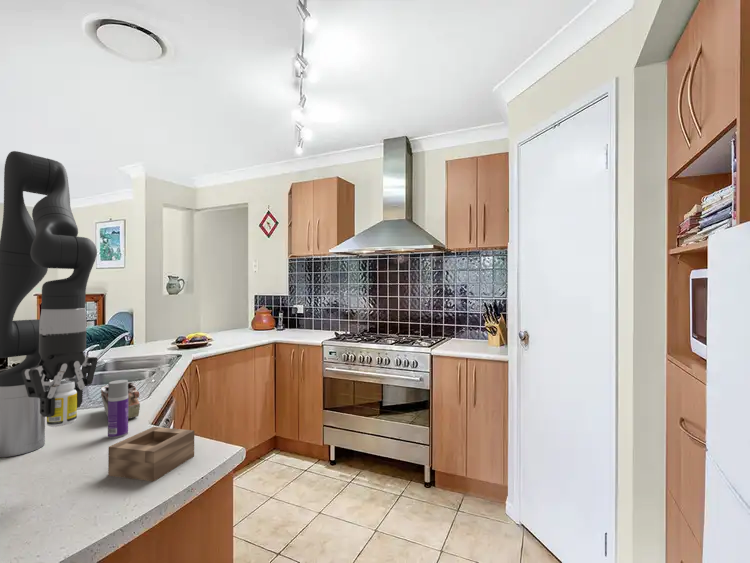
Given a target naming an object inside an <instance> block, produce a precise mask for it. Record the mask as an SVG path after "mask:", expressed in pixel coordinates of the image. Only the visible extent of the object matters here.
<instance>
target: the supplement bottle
mask: <svg viewBox="0 0 750 563" xmlns="http://www.w3.org/2000/svg"><path fill="white" fill-rule="evenodd" d="M74 388H75V381H72V380H67V381H66V380H61V383H60V385H59V386H58V387H57V388H56V391H55V394H54V396H53V398H55V414H54V416H51V417H46V425H47V427H50V428H51V427H52V428H54V427H55V428H57V427H63V426H66V425H70V424H73V423H74V422H76V421H77V419H78V418H77V417H78V416H77V415H78V408H77V391H76V390H75V389H74Z"/></svg>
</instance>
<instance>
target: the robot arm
mask: <svg viewBox="0 0 750 563" xmlns="http://www.w3.org/2000/svg"><path fill="white" fill-rule="evenodd" d="M4 162H5V163H4V168H3V169H4V171H3V216H2V223H1V224H2V225H1V232H0V359H4V358H6V359H7V358H15V357H23V356H25V357H24V358H25V359H24V360H22V361H21V362H20V363H18V364H16V365H15V366H13V367H11V368H8V369H6V370H3V371H1V372H0V458H6V457H14V456H19V455H23V454H27V453H28V454H29V453H31V452H33V451H36V450H39V449H41V448H43V447H44V446H45V444H46V443H45V442H46V418H47V417H51V416H54V414H55V398H53V396H54V394H55V391H56V388H57V387H58V386H59V385H60V383H61V381H67V380H72V381H75V388H74V389H75V390H76V391H77V409H78V408H80V407H82V403H83V400H84V399H83V397H84V396H83V395H84V393H83V391H84V389H85V387H87V386H88V385H92V383H93V380H94V377H95V373H96V368H97V365H98V360H99V358H98V357H95V356H85V354H84V351H85V350H86V349H87V323H88V322H87V313H86V293H87V286H88V282H89V277H90V274H91V271H92V269H93V268H94V264H95V262H96V259H97V255H98V250H97V246H96V243H94V242H93V241H92V239H90V238H88V237H83V236H78V234H79V229H78V225H77V223H76V220H75V218H74V215H73V213H72V207H71V196H70V187H69V177H68V172H67V169H66V168H65V166H64V165H63V163H61V162H59V161H57V160H55V159H51V158H48V157H47V158H46V157H42V156H39V155H34V154H32V153H31V154H30V153H25V152H23V151H22V152H21V151H18V150H17V151H16V150H12V151H10V152H9V153H8V154H7V156H6V159H5V161H4ZM24 192H27V193H30V194H37V195H42V196H44V197H43V198H41V199H40V200H38V201H37V202H36V203H35V205H34V206H33V208H32V212H31V214H30V212H29V210H28V208H27V206H26V204H25V199H24ZM49 269H58V270H59V269H60V270H61V269H62V270H66V269H67V270H73V271H72V273H71V275H69V276H68V277H65V278H61V279H53V280H48V281H45V282H44V283H43V284H42V286H41V306H40V308H41V309H40V310H41V311H40V316H39V319H38V318H37V319H22V320H21V319H19V320H14V318H15V315H16V312H17V310H18V307H19V306H20V304H21V303H22V301H23V300H24V299H25V297H27V295H29V293H30V292H31V291H32V290H34V288H35V287H36V286H38V284H40V282H41V281H42V280H43V279H44V278H45V277H46V275H47V274H48V270H49Z"/></svg>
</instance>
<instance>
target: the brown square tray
mask: <svg viewBox="0 0 750 563" xmlns="http://www.w3.org/2000/svg"><path fill="white" fill-rule="evenodd" d="M107 450H108V452H107V453H108V458H107V460H108V461H107V465H108V468H107V472H108V474H107V475H108V476H109V477H117V478H123V479H124V478H125V479H132V480H138V481H139V480H140V481H147V482H155V481H157V480H158V479H161V478H162V477H163V476H165V475H166V474H168V473H170V472H171V471H173V470H175V469H176V468H178V467H179V466H181V465H183V464H184V463H186V462H188V461H189V460H190V459H192V458H194V457H195V430H193V429H192V430H191V429H183V428H180V429H179V428H173V427H172V428H171V427H161V426H160V427H159V426H152V427H149V428H148V429H146V430H143V431H140V432H138V433H136V434H134V435H132V436H129V437H128V438H126V439H123V440H121V441H119V442H116V443H114V444H112V445H109V446H108V449H107Z"/></svg>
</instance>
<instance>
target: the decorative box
mask: <svg viewBox="0 0 750 563" xmlns="http://www.w3.org/2000/svg"><path fill="white" fill-rule="evenodd" d="M137 387H138V384H137V383H136V382H131V381H128V420H131V419H133V418H137V417H139V414H140V408H141V403H140V401H139V400H138V398H140V392H139V390H137ZM100 389H101V390H100V397H101V400H102V403H103V404H102V405H103V408H104V413H105V415H106V416H107V417H108V391H109V384H107V385H104V386H102V387H100Z"/></svg>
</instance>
